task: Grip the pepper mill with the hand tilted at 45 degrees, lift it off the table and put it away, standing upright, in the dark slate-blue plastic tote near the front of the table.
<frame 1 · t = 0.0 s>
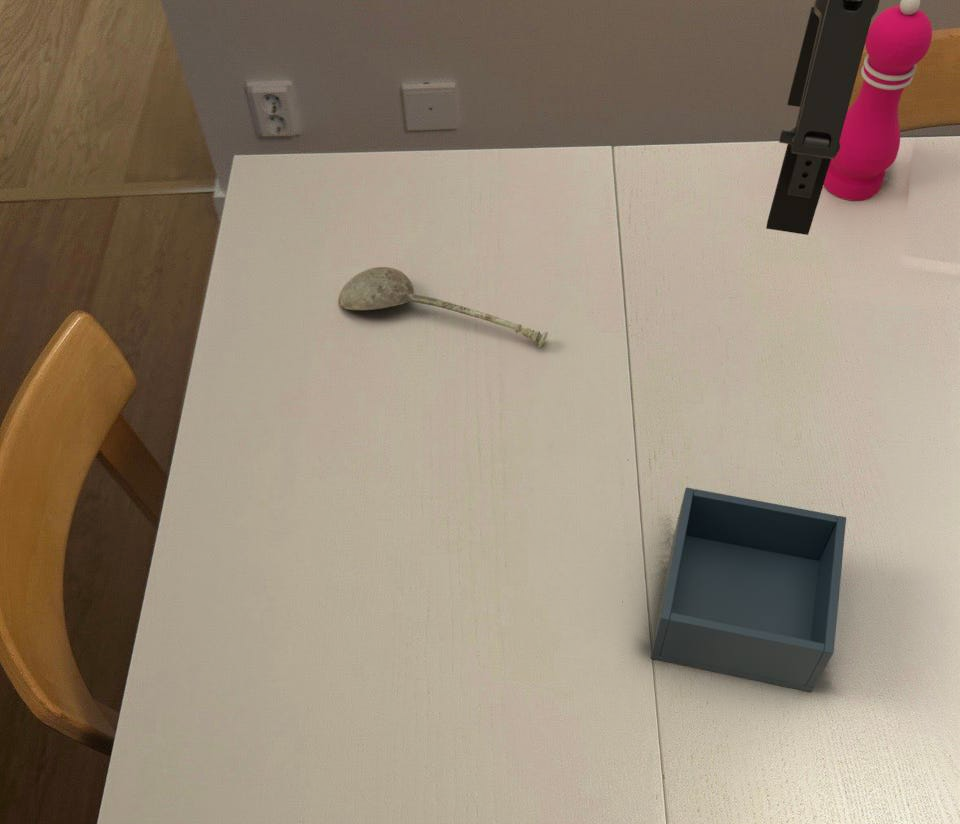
hand: (797, 164, 72), 29 cm above the table, tool pointing down, fingers open, 13 cm apart
pepper mill: (850, 184, 116), on the table
soupspoon: (441, 319, 106), on the table
tote: (740, 608, 88), on the table
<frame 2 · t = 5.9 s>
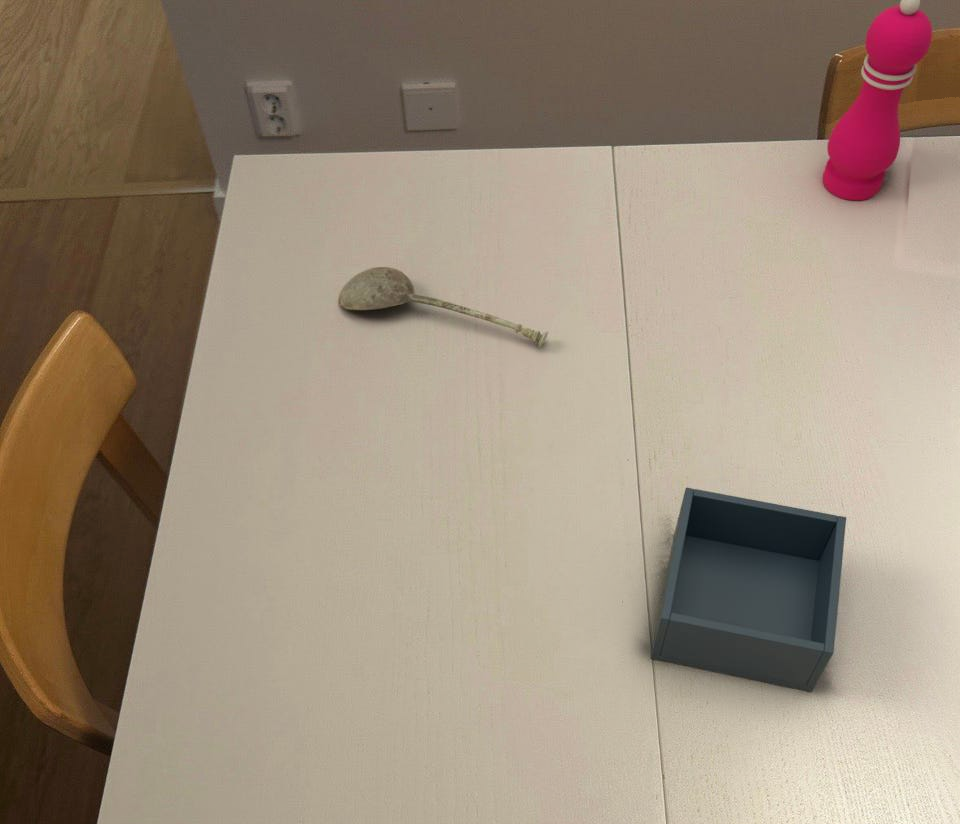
nothing on the table moved.
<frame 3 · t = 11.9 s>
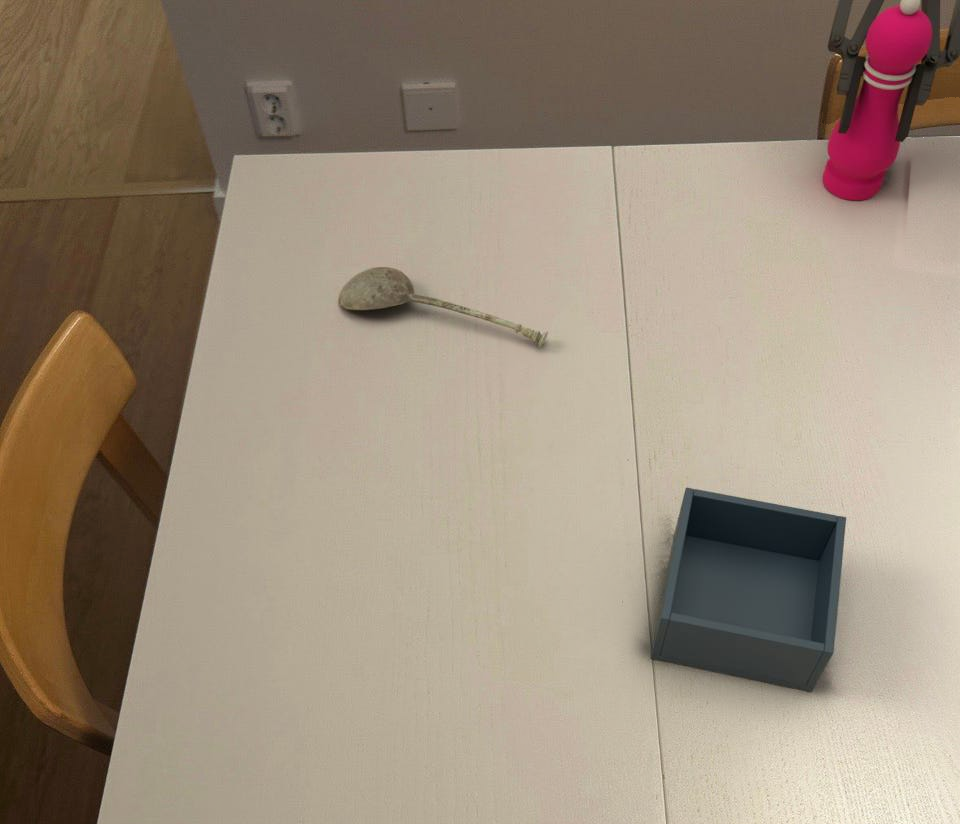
hand: (872, 134, 107), 8 cm above the table, tool tilted 45°, fingers closed on pepper mill, 5 cm apart
pepper mill: (850, 184, 116), on the table, touching gripper
everything else where it was.
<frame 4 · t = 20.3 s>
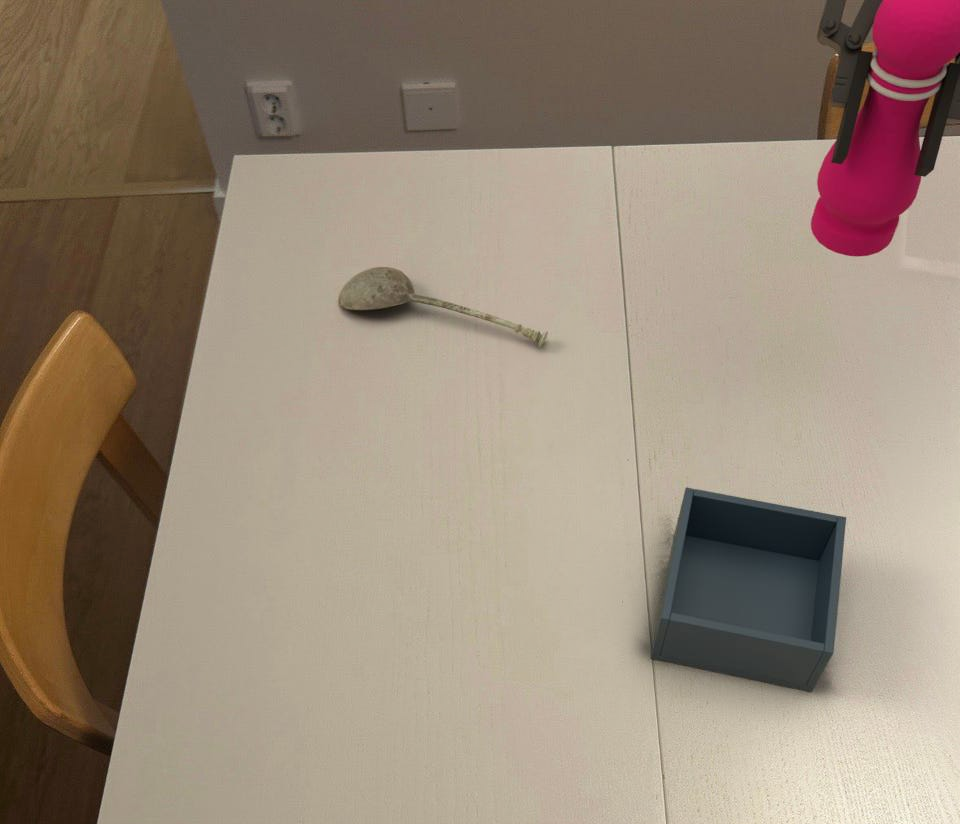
hand: (881, 165, 73), 28 cm above the table, tool tilted 45°, fingers closed on pepper mill, 5 cm apart
pepper mill: (850, 232, 82), point 20 cm above the table, touching gripper
everything else where it was.
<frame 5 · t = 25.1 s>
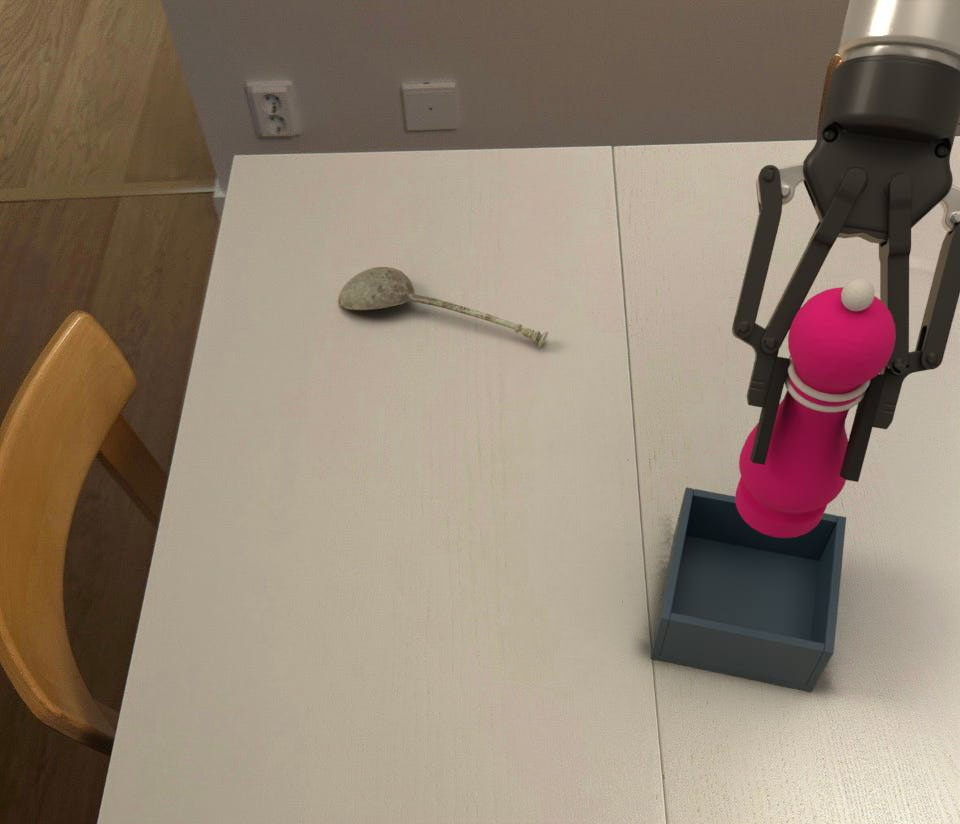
hand: (802, 469, 67), 22 cm above the table, tool tilted 45°, fingers closed on pepper mill, 5 cm apart
pepper mill: (778, 505, 76), point 14 cm above the table, touching gripper
everything else where it was.
when the fingers open (9 cm above the table, at t = 28.9 s): pepper mill stays where it is, resting on tote.
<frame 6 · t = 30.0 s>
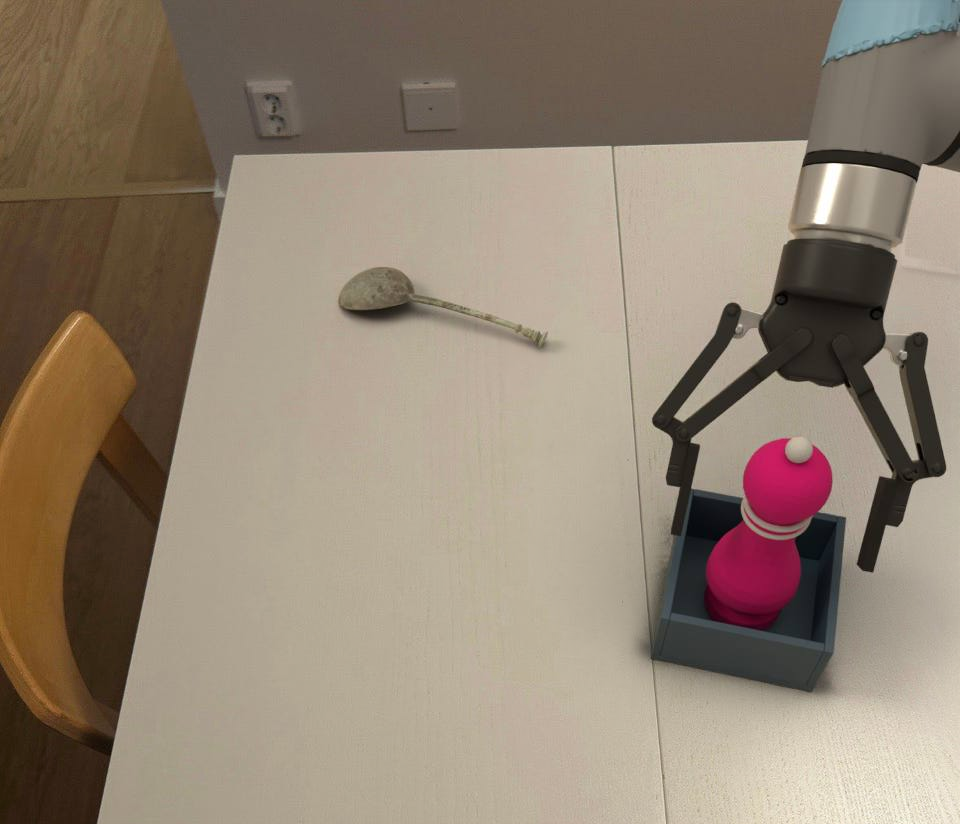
hand: (768, 551, 77), 11 cm above the table, tool tilted 45°, fingers open, 13 cm apart
pepper mill: (741, 603, 87), point 1 cm above the table, touching tote
everything else where it was.
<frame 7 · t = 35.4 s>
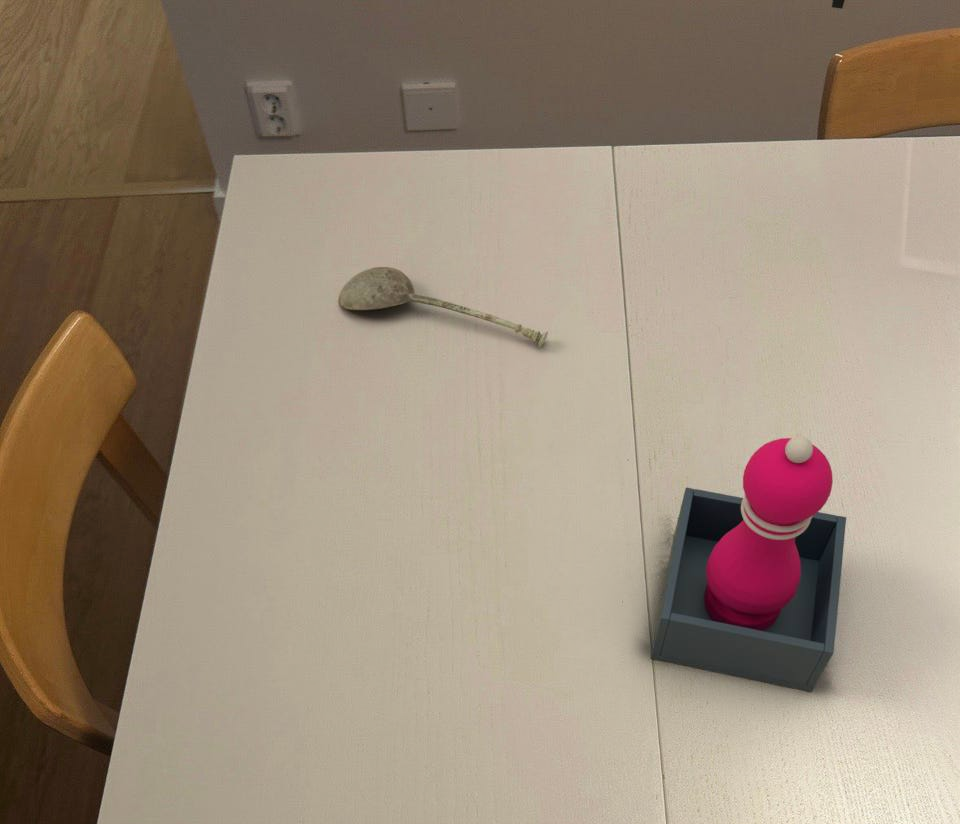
hand: (934, 11, 76), 32 cm above the table, tool pointing down, fingers open, 13 cm apart
nothing on the table moved.
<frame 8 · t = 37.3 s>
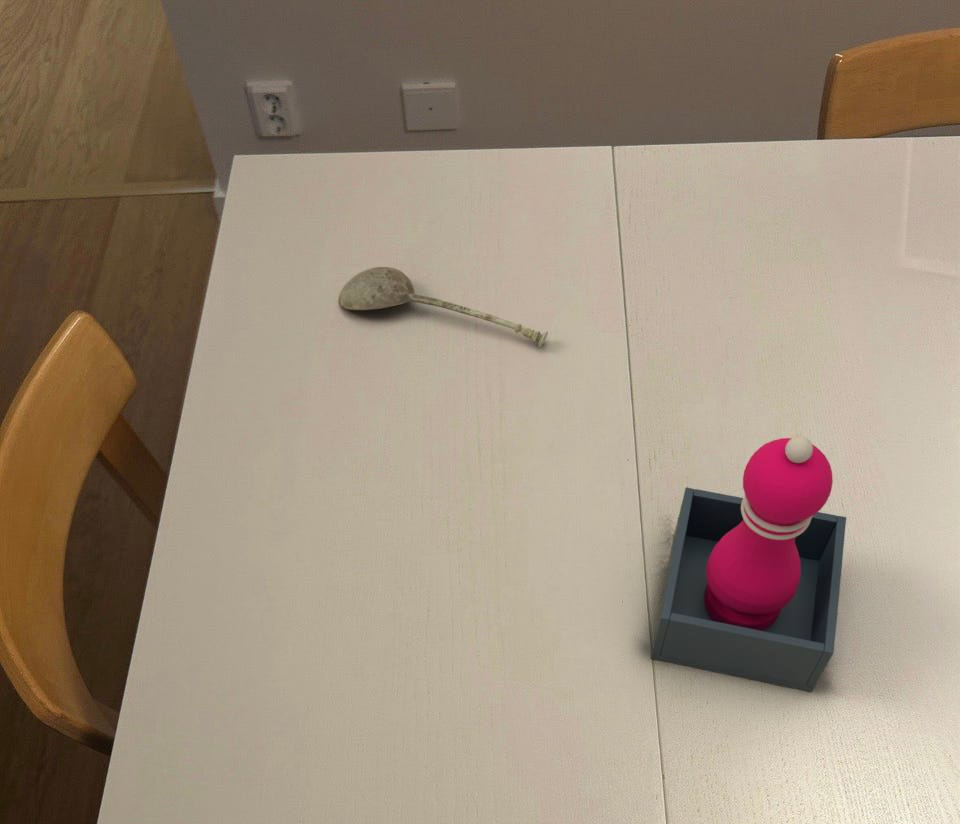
nothing on the table moved.
at the end: pepper mill inside the target area in the tote (0.1 cm from its centre), point 0.6 cm above the tote's base; pepper mill tilted 0°; the gripper is holding nothing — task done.
